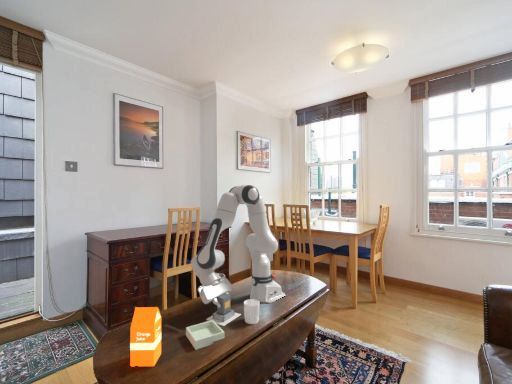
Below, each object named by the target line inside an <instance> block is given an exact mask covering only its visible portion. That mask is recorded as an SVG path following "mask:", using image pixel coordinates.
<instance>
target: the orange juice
mask: <svg viewBox="0 0 512 384" xmlns="http://www.w3.org/2000/svg"><path fill="white" fill-rule="evenodd" d="M129 338H130V339H129V340H130V341H129V348H130V349H129V350H130V354H129V355H130V357H129V358H130V361H129V363H130V364H129V366H131V367H135V366H138V367H155V365H156V364H157V362H158V360H159V358H160V357H161V355H162V315H161V312H160V309H159V306H151V307H150V306H148V307H147V306H146V307H144V306H142V307H138V306H137V307H136V306H135V307H134V313H133V317H132V320H131V324H130V336H129ZM131 367H130V368H131ZM135 368H136V367H135Z"/></svg>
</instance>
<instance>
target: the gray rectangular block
mask: <svg viewBox="0 0 512 384" xmlns="http://www.w3.org/2000/svg"><path fill="white" fill-rule="evenodd" d="M217 301H218V302H219V303H220V302H221V304H222V306H221V307H220V308H218V307H217V311H218V314H219V315H222V316H224V315H226V314H228V313H229V312H231V310H232V309H231V306H232V305H231V301H232V299H231V294H225V293H224V294H223V295H221V296H219V297H218V298H217Z"/></svg>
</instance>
